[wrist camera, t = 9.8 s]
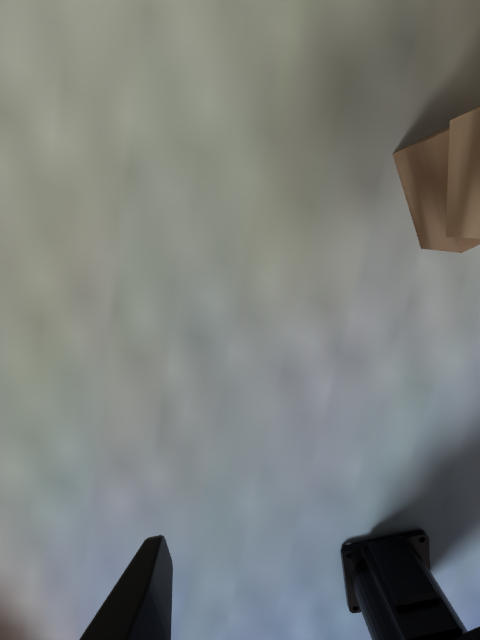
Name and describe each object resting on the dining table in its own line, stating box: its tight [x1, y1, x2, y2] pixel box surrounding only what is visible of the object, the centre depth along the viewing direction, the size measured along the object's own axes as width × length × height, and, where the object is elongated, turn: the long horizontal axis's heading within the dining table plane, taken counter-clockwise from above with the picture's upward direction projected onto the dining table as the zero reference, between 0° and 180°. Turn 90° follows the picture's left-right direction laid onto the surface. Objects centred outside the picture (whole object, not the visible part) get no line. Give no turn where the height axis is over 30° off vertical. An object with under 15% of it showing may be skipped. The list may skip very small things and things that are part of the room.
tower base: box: [393, 126, 480, 253], centre depth 17 cm, size 6×6×4 cm
